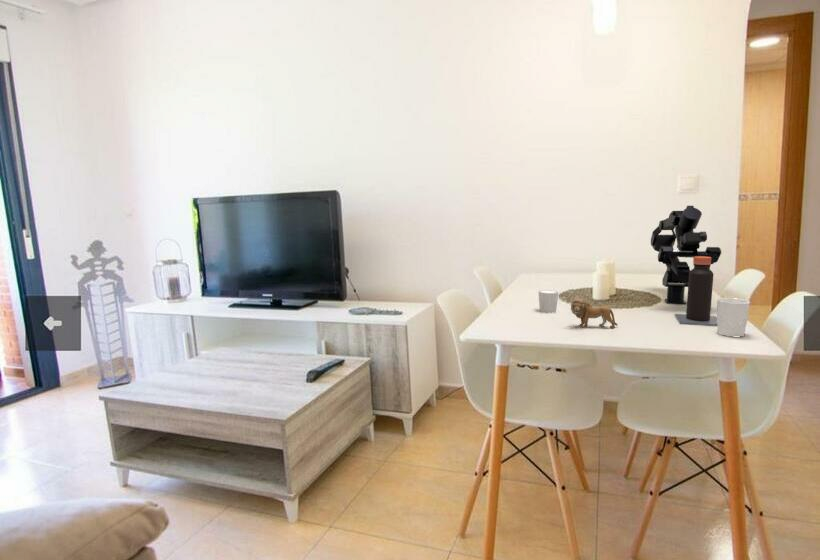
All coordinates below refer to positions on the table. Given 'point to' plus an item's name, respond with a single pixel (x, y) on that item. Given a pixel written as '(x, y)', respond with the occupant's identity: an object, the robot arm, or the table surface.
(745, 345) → the table surface
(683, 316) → the slate coaster
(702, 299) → the vinegar
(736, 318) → the white cup
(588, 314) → the lion figurine
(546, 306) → the ribbed white pot
